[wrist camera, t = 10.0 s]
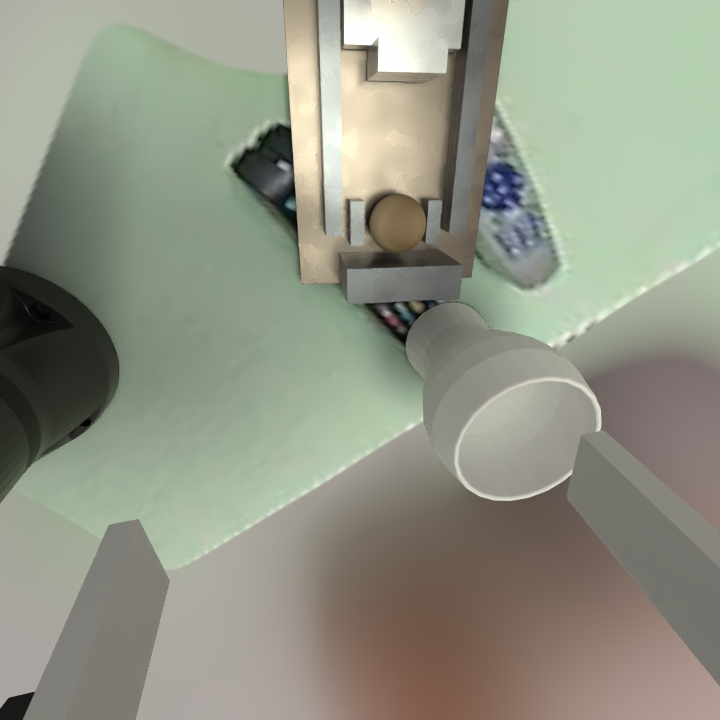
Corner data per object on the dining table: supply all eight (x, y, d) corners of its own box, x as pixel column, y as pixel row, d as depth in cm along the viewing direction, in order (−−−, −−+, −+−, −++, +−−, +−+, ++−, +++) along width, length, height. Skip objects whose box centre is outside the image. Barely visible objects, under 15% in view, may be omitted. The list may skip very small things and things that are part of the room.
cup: (366, 341, 37) (409, 450, 23) (459, 261, 34) (565, 331, 21) (433, 408, 41) (501, 530, 28) (519, 340, 39) (636, 438, 26)
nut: (364, 247, 31) (374, 260, 28) (365, 191, 29) (375, 197, 26) (415, 246, 32) (430, 258, 28) (419, 190, 30) (436, 196, 26)
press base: (300, 278, 33) (303, 306, 27) (273, -157, 22) (267, -263, 16) (464, 272, 35) (498, 296, 29) (515, -130, 24) (586, -218, 18)
